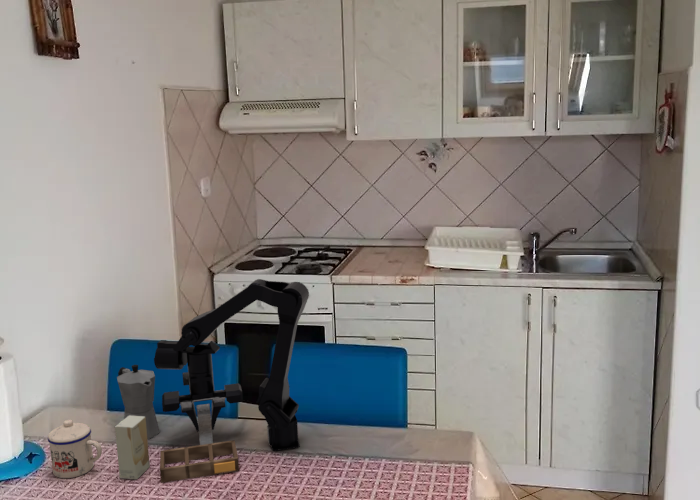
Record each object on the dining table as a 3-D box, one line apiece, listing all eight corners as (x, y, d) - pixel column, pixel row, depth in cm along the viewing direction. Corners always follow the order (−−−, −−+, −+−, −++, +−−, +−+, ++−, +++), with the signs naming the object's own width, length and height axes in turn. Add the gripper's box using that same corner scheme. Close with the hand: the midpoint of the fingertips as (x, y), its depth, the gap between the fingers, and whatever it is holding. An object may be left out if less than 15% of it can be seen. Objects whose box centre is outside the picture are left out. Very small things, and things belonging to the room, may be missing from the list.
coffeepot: (171, 434, 173) (165, 366, 169) (136, 448, 166) (129, 377, 163) (141, 416, 183) (135, 352, 180) (107, 428, 177) (100, 361, 173)
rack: (235, 452, 163) (234, 440, 162) (239, 471, 153) (238, 459, 153) (161, 462, 159) (160, 450, 158) (161, 483, 150) (159, 470, 149)
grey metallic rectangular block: (211, 433, 172) (209, 403, 171) (212, 444, 167) (210, 413, 165) (199, 435, 172) (196, 405, 170) (200, 446, 166) (197, 415, 164)
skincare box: (137, 480, 151) (131, 428, 149) (118, 478, 152) (113, 427, 150) (151, 465, 157) (146, 415, 155) (133, 464, 158) (128, 414, 156)
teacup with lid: (43, 477, 154) (36, 428, 152) (68, 457, 162) (62, 411, 160) (91, 482, 151) (85, 432, 149) (114, 461, 160) (109, 414, 158)
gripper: (236, 353, 175) (240, 411, 178) (160, 362, 171) (165, 421, 174) (241, 369, 165) (245, 430, 168) (159, 379, 160) (165, 441, 163)
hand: (205, 430), depth 169 cm, fingers open, 3 cm apart
